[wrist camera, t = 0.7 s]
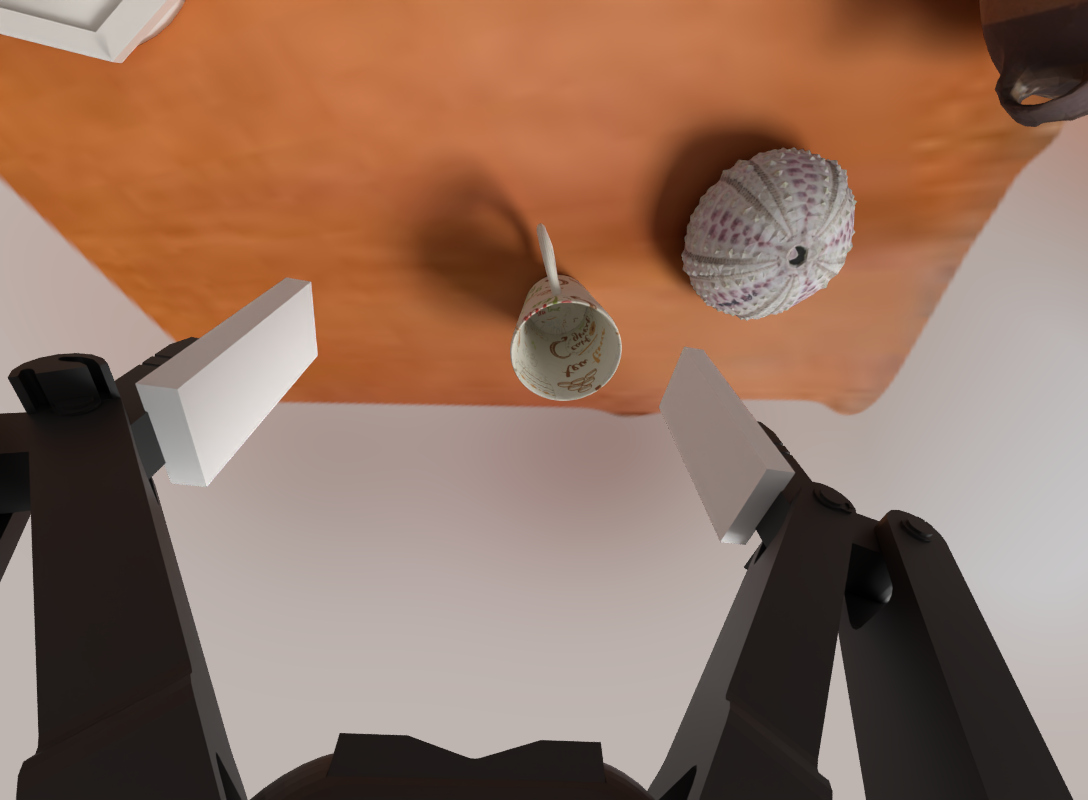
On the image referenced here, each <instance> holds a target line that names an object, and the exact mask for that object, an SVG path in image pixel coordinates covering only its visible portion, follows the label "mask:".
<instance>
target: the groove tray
mask: <svg viewBox="0 0 1088 800" xmlns="http://www.w3.org/2000/svg"><path fill="white" fill-rule="evenodd" d="M184 2H185V0H0V34H3V35H7V36H11V37H15V38H19V39H23V40H27V41H31V42H35V43H39V44H43V45H47V46H51V47H55V48H59V49H63V50H67V51H71V52H75V53H79V54H83V55H87V56H91V57H95V58H99V59H103V60H107V61H111V62H117V63H122V62H123V61H124V60H125V59H126V58H127V57H128V56H129V55H130V53H131V52H132V51H133V50H134V49H135V48H136V47H137V46H138V45H141V44H143V43H145V42H146V41H148V40H150V39H152V38H153V37H155V36H157V35H158V34H159V33H160V32H161V31H162V30H164V29H165V28H166V27H167V26H168V25H169V24H170V23H171V22H172V21H173V19H174V18H175V16H176V15H177V14H178V12H179V11H180V10H181V8H182V6H183V4H184Z"/></svg>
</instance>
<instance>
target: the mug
mask: <svg viewBox="0 0 1088 800" xmlns="http://www.w3.org/2000/svg"><path fill="white" fill-rule="evenodd" d="M537 235H538V240H539V245H540V249H541V253H542V257H543V261H544V265H545V269H546V273H547V277H545V278H543V279H541V280H540V281H538V282H537V283H536V284H535V285H534V286H533V287H532V288H531V289H530V291H529V293H528V295H527V297H526V300H525V302H524V305H523V308H522V311H521V314H520V316H519V319H518V322H517V325H516V327H515V330H514V333H513V336H512V341H511V348H510V355H511V362H512V366H513V369H514V371H515V373H516V375H517V377H518V378H519V380H520V381H521V382H522V383H523V384H524V385H525V386H526V387H527V388H528V389H529V390H531V391H532V392H534V393H535V394H537V395H539V396H542V397H544V398H548V399H552V400H560V401H567V400H575V399H579V398H583V397H586V396H588V395H590V394H592V393H594V392H596V391H597V390H599V389H600V388H601V387H603V386H604V385H605V384H606V383H607V382H608V381H609V380H610V379H611V377H612V376H613V374H614V373H615V371H616V369H617V367H618V365H619V362H620V358H621V349H622V346H621V338H620V334H619V331H618V329H617V326H616V324H615V323H614V321H613V320H612V318H611V317H610V316H609V314H608V313H607V312H606V311H605V310H604V309H603V308H602V306H601V305H600V304H599V303H598V302H597V301H596V300H595V299H594V298H593V297H592V295H591V294H590V293H589V292H588V291H587V290H586V289H585V288H584V287H583V285H582V284H580V283H579V282H578V281H577V280H575V279H573V278H571V277H569V276H565V275H557V268H556V263H555V257H554V251H553V246H552V244H551V241H550V238H549V236H548V233H547V231H546V228H545V226H544V225H543V224H541V223H540V224H538V225H537Z"/></svg>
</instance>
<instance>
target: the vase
mask: <svg viewBox="0 0 1088 800" xmlns="http://www.w3.org/2000/svg"><path fill="white" fill-rule="evenodd" d="M980 15H981V24H982V30H983V35H984V38H985V42H986V45H987V48H988V52H989V54H990V56H991V59H992V61H993V63H994V65H995V67H996V68H997V70H998V72H999V73H1000V75H1001V76H1000V78H999V79H998V81H997V84H996V88H995V91H996V92H997V94H998V97H999V100H1000V103H1001V105H1002V107H1003V108H1004V109H1005V110H1006V111H1007V113H1008V114H1009V115H1010V116H1011V117H1012V118H1013V119H1014V120H1015V121H1016V122H1017V123H1020V124H1022V125H1024V126H1031V127H1036V126H1038V125H1040V124H1042V123H1046V122H1055V121H1067V120H1075V119H1077V118H1079V117H1082V116H1085V115H1088V0H980ZM1030 95H1037V96H1041V97H1046V98H1050V99H1052V100H1050V101H1048V102H1045V103H1041V104H1036V105H1022V104H1021V102H1022V100H1024V99H1025V98H1027V97H1029V96H1030Z"/></svg>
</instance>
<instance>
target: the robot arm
mask: <svg viewBox="0 0 1088 800" xmlns="http://www.w3.org/2000/svg"><path fill="white" fill-rule="evenodd" d="M317 356H318V354H317V343H316V332H315V320H314V309H313V298H312V287H311V282H309V281H303V280H297V279H292V278H285V279H283V280H282V281H281V282H279V283H278V284H276V285H275V286H274V287H272V288H271V289H269V290H268V291H266V292H265V293H264V294H262V295H261V296H259V297H258V298H256V299H255V300H254V301H252V302H251V303H249V304H248V305H246V306H245V307H244V308H242V309H241V310H239V311H238V312H237V313H235V314H234V315H232V316H231V317H229V318H228V319H227V320H225V321H224V322H222V323H221V324H219V325H218V326H217V327H215V328H214V329H212V330H211V331H209V332H208V333H207V334H205V335H204V336H202V337H201V338H194V337H190V338H187V339H184V340H181V341H179V342H176V343H173V344H170V345H168V346H167V347H166V348H164V349H162V350H161V351H159V352H158V353H156V354H155V357H153V356H152V357H150V358H149V359H147V360H146V361H144V362H143V364H142V365H138V366H136V367H135V368H134V369H132V370H130V371H129V372H127V373H126V374H124V375H123V376H121V377H120V378H118V379H117V380H116V381H114V379H113V376H112V373H111V371H110V368H109V366H108V364H107V362H106V361H105V360H104V359H103V358H101V357H98V356H95V355H91V354H79V353H73V354H57V355H52V356H47V357H42V358H38V359H35V360H32V361H29V362H26V363H23V364H22V365H20V366H18V367H17V368H15V369H13V370H12V371H11V373H10V375H9V376H8V379H9V381H10V383H11V385H12V386H13V388H14V390H15V392H16V394H17V396H18V397H19V399H20V401H21V403H22V405H23V407H24V408H25V410H26V412H25V413H5V414H4V413H3V414H0V581H1V579H2V577H3V575H4V572H5V570H6V568H7V566H8V563H9V561H10V559H11V557H12V555H13V552H14V550H15V548H16V546H17V543H18V541H19V539H20V537H21V534H22V532H23V530H24V528H25V526H26V523H27V521H28V519H29V517H30V515H31V525H32V526H31V527H32V528H31V529H32V558H33V586H34V613H35V614H34V616H35V645H36V674H37V703H38V732H39V739H38V748H37V751H36V754H35V755H34V756H32V757H30V758H29V759H27V760H26V761H24V762H23V764H22V767H21V769H20V772H19V775H18V782H17V794H16V800H247V796H246V793H245V790H244V787H243V784H242V781H241V778H240V775H239V772H238V769H237V767H236V764H235V761H234V758H233V755H232V752H231V749H230V745H229V742H228V738H227V735H226V732H225V728H224V724H223V721H222V718H221V714H220V710H219V707H218V704H217V700H216V697H215V693H214V689H213V686H212V682H211V679H210V676H209V672H208V668H207V665H206V662H205V658H204V654H203V651H202V648H201V644H200V640H199V637H198V633H197V630H196V626H195V623H194V620H193V616H192V613H191V609H190V606H189V602H188V598H187V595H186V591H185V588H184V585H183V581H182V577H181V574H180V571H179V567H178V563H177V560H176V556H175V553H174V549H173V546H172V542H171V539H170V535H169V532H168V528H167V525H166V521H165V518H164V514H163V511H162V507H161V504H160V500H159V497H158V493H157V490H156V487H155V484H154V481H153V479H152V476H153V475H154V474H155V473H156V472H157V471H158V470H159V469H160V468H161V467H162V466H163V465H165V468H166V470H167V473H168V476H169V479H170V482H171V483H175V484H185V485H194V486H203V487H207V486H208V485H209V484H210V483H211V481H212V480H213V479H214V478H215V477H216V475H217V474H218V473H219V472H220V471H221V469H222V468H223V467H224V466H225V465H226V463H227V462H228V461H229V460H230V459H231V458H232V456H233V455H234V454H235V453H236V452H237V450H238V449H239V448H240V447H241V446H242V445H243V443H244V442H245V441H246V440H247V438H248V437H249V436H250V435H251V434H252V433H253V431H254V430H255V429H256V428H257V427H258V425H259V424H260V423H261V422H262V421H263V420H264V418H265V417H266V416H267V415H268V413H269V412H270V411H271V410H272V409H273V408H274V407H275V405H276V404H277V403H278V402H279V401H280V399H281V398H282V397H283V396H284V395H285V394H286V392H287V391H288V390H289V389H290V388H291V386H292V385H293V384H294V383H295V382H296V380H297V379H298V378H299V377H300V376H301V375H302V373H303V372H304V371H305V370H306V369H307V367H308V366H309V365H310V364H311V363H312V361H313V360H314V359H315V358H316V357H317ZM659 408H660V411H661V413H662V415H663V417H664V419H665V421H666V424H667V426H668V428H669V430H670V432H671V435H672V437H673V439H674V441H675V443H676V446H677V448H678V450H679V452H680V454H681V457H682V459H683V461H684V463H685V465H686V468H687V470H688V472H689V474H690V476H691V479H692V481H693V483H694V485H695V487H696V489H697V492H698V494H699V496H700V498H701V500H702V503H703V505H704V507H705V509H706V511H707V514H708V516H709V518H710V520H711V522H712V525H713V527H714V529H715V531H716V533H717V535H718V538H719V540H720V542H726V543H736V544H746V543H747V542H748V540H749V539H750V538H751V536H752V535H753V533H754V532H755V530H757V532H758V534H759V536H760V538H761V539H762V543H761V544H760V545H759V547H758V548H757V550H756V551H755V552H754V554H753V555H752V556H751V558H750V559H749V561H748V562H747V563H746V565H745V566H744V568H745V569H747V572H746V575H745V577H744V579H743V581H742V584H741V586H740V589H739V591H738V593H737V595H736V598H735V600H734V602H733V605H732V607H731V609H730V611H729V614H728V616H727V619H726V621H725V623H724V626H723V628H722V630H721V632H720V635H719V637H718V639H717V642H716V644H715V646H714V648H713V651H712V653H711V655H710V658H709V660H708V662H707V665H706V667H705V669H704V672H703V674H702V676H701V679H700V681H699V683H698V686H697V688H696V690H695V692H694V695H693V697H692V699H691V702H690V704H689V706H688V708H687V711H686V713H685V716H684V718H683V720H682V722H681V725H680V727H679V729H678V732H677V734H676V736H675V739H674V741H673V743H672V746H671V748H670V750H669V752H668V755H667V757H666V759H665V761H664V763H663V765H662V767H661V769H660V771H659V772H658V774H657V776H656V777H655V779H654V780H653V782H652V784H651V785H650V787H649V789H648V791H646V790H645V789H644V788H643V787H642V786H641V785H640V784H639V783H637V782H636V781H635V780H633V779H632V778H630V777H629V776H627V775H626V774H625V773H623V772H622V771H620V770H618V769H616V768H614V767H612V766H610V765H608V764H605V763H603V757H602V749H601V742H578V741H577V742H576V741H549V740H540V741H536V742H533V743H530V744H526V745H523V746H520V747H516V748H513V749H509V750H506V751H503V752H499V753H496V754H493V755H489V756H486V757H482V758H478V759H471V758H468V757H465V756H462V755H459V754H456V753H454V752H451V751H448V750H446V749H443V748H440V747H438V746H435V745H432V744H429V743H427V742H424V741H421V740H419V739H416V738H413V737H410V736H407V735H378V734H348V733H340V734H339V738H338V741H337V744H336V748H335V751H334V753H333V754H329V755H326V756H322V757H320V758H317V759H315V760H312V761H310V762H308V763H305V764H303V765H301V766H299V767H297V768H296V769H294V770H292V771H290V772H288V773H287V774H284V775H283V776H281V777H280V778H278V779H277V780H276V781H274V782H272V783H271V784H270V785H268V786H267V787H265V788H264V789H263V790H261V791H260V792H259V793H258V794H256V795H255V796H254V797H253V798H252V799H250V800H832V789H831V786H830V783H829V780H827V779H826V778H825V777H823V776H822V775H821V774H820V773H819V772H818V769H817V766H818V765H817V764H818V755H819V749H820V743H821V736H822V730H823V724H824V718H825V712H826V705H827V699H828V692H829V686H830V680H831V674H832V667H833V661H834V655H835V648H836V642H837V636H838V633H839V639H840V645H841V651H842V657H843V663H844V669H845V675H846V681H847V687H848V693H849V699H850V705H851V711H852V717H853V723H854V730H855V736H856V742H857V748H858V753H859V760H860V766H861V772H862V778H863V783H864V790H865V796H866V800H1073V798H1072V796H1071V794H1070V792H1069V790H1068V788H1067V786H1066V784H1065V782H1064V780H1063V778H1062V776H1061V774H1060V772H1059V770H1058V768H1057V766H1056V764H1055V762H1054V760H1053V758H1052V756H1051V754H1050V752H1049V750H1048V748H1047V746H1046V743H1045V742H1044V739H1043V738H1042V735H1041V733H1040V731H1039V729H1038V727H1037V725H1036V723H1035V721H1034V719H1033V717H1032V715H1031V713H1030V711H1029V709H1028V707H1027V705H1026V703H1025V701H1024V699H1023V697H1022V695H1021V693H1020V691H1019V689H1018V687H1017V685H1016V683H1015V681H1014V679H1013V677H1012V675H1011V673H1010V671H1009V669H1008V667H1007V665H1006V663H1005V660H1004V659H1003V657H1002V654H1001V652H1000V650H999V648H998V646H997V645H996V642H995V640H994V638H993V636H992V634H991V632H990V630H989V628H988V626H987V624H986V622H985V620H984V618H983V616H982V614H981V612H980V610H979V608H978V606H977V604H976V602H975V600H974V598H973V596H972V594H971V592H970V590H969V588H968V586H967V584H966V582H965V580H964V577H963V576H962V573H961V571H960V569H959V567H958V565H957V564H956V561H955V559H954V557H953V555H952V553H951V551H950V549H949V547H948V545H947V543H946V542H945V540H944V539H943V537H942V536H941V535H940V534H939V533H938V532H937V531H936V530H935V529H934V528H933V527H932V526H931V525H930V524H929V523H927V522H925V521H924V520H923V519H921V518H919V517H916V516H914V515H912V514H910V513H907V512H903V511H900V510H891V511H889V512H888V513H887V514H886V515H885V516H884V517H883V518H882V519H881V520H880V521H877V520H874V519H871V518H868V517H865V516H863V515H860V514H857V513H856V510H855V508H854V506H853V505H852V503H851V502H850V501H849V500H848V499H847V498H846V497H844V496H843V495H842V494H841V493H839V492H838V491H836V490H834V489H833V488H831V487H828V486H826V485H824V484H821V483H816V482H812V481H811V479H810V478H809V477H808V476H807V474H806V473H805V472H804V470H803V469H802V468H801V467H800V465H799V464H798V463H797V461H796V460H795V459H794V458H793V456H792V455H790V452H789V451H788V450H787V449H786V447H785V446H783V443H782V442H781V441H780V440H779V438H778V437H777V436H776V434H775V433H774V432H773V431H771V430H770V429H769V428H768V427H766V426H765V425H764V424H763V423H761V422H757V421H756V420H755V418H754V417H753V416H752V414H751V413H750V412H749V411H748V409H747V408H746V406H745V405H744V404H743V402H742V401H741V400H740V398H739V397H738V396H737V394H736V393H735V392H734V390H733V389H732V388H731V386H730V385H729V384H728V382H727V381H726V380H725V378H724V377H723V376H722V374H721V373H720V372H719V370H718V369H717V368H716V366H715V365H714V364H713V362H712V361H711V360H710V358H709V357H708V356H707V354H706V353H705V352H704V350H701V349H695V348H689V347H684V348H683V350H682V353H681V355H680V358H679V360H678V362H677V365H676V367H675V370H674V372H673V374H672V377H671V379H670V382H669V384H668V386H667V389H666V391H665V394H664V396H663V398H662V401H661V403H660V405H659Z"/></svg>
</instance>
